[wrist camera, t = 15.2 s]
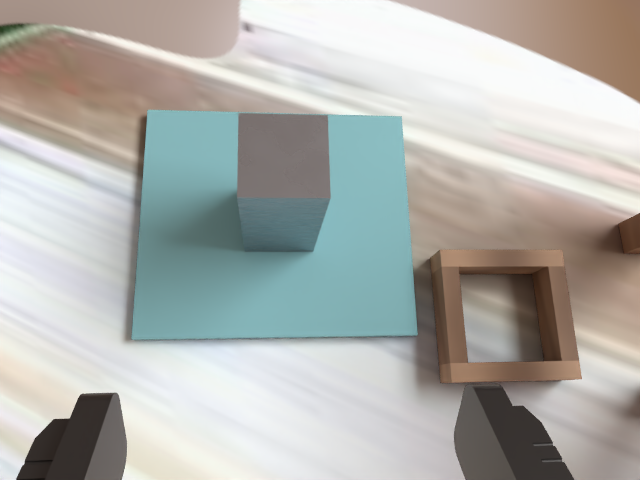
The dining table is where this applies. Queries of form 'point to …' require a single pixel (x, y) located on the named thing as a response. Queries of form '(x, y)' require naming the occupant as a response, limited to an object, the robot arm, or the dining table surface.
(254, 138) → the steel bar
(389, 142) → the teal mat
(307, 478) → the dining table surface
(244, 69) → the dining table surface
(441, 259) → the walnut stand
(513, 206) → the dining table surface
